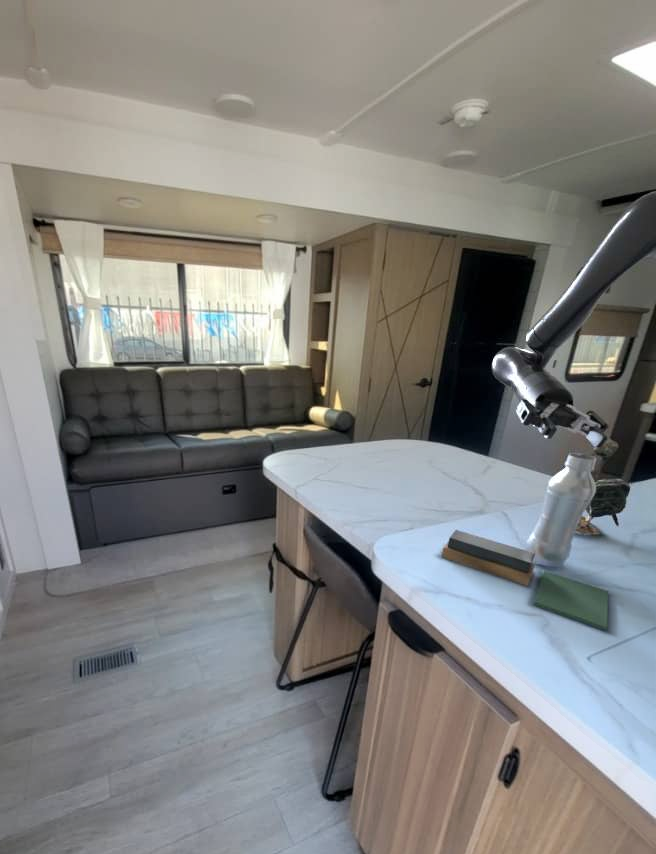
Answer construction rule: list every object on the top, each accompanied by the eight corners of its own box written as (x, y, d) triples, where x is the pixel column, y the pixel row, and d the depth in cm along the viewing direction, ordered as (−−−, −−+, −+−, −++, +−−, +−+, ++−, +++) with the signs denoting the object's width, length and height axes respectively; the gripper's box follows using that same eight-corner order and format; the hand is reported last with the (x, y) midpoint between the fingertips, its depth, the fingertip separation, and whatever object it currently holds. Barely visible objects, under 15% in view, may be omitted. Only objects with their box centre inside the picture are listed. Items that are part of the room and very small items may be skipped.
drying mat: (606, 593, 65) (608, 590, 65) (605, 630, 57) (607, 627, 57) (542, 573, 70) (543, 570, 70) (533, 604, 62) (534, 601, 62)
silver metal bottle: (523, 548, 78) (558, 447, 69) (565, 559, 74) (607, 455, 66) (519, 562, 73) (556, 456, 64) (563, 576, 70) (609, 465, 61)
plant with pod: (617, 545, 80) (663, 447, 71) (550, 529, 85) (585, 436, 76) (613, 529, 86) (654, 437, 77) (550, 515, 91) (583, 428, 82)
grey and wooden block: (532, 572, 70) (539, 553, 69) (527, 586, 67) (535, 565, 65) (449, 546, 78) (453, 527, 76) (441, 556, 74) (445, 537, 72)
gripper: (517, 373, 79) (547, 411, 67) (590, 385, 79) (634, 426, 67) (498, 407, 84) (523, 449, 72) (566, 419, 84) (603, 463, 72)
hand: (576, 438), depth 70 cm, fingers open, 8 cm apart
